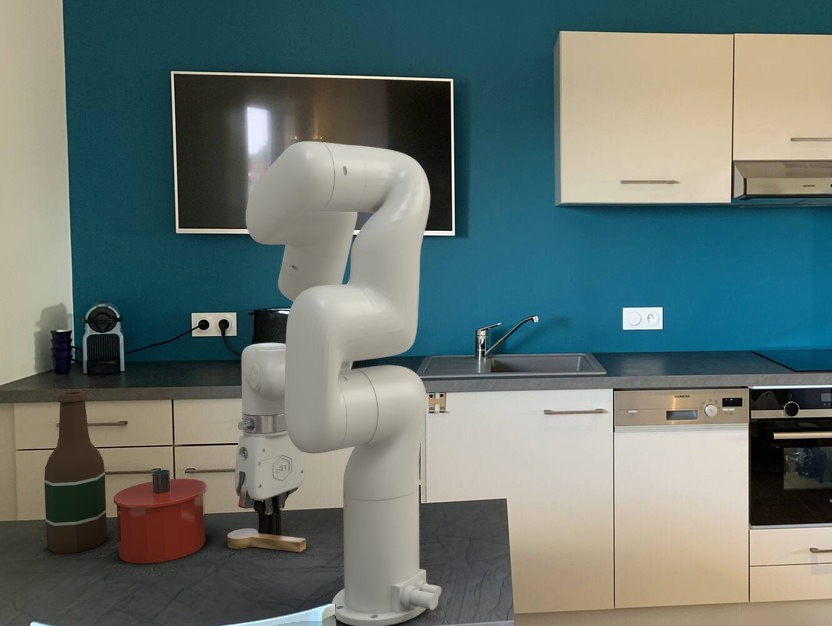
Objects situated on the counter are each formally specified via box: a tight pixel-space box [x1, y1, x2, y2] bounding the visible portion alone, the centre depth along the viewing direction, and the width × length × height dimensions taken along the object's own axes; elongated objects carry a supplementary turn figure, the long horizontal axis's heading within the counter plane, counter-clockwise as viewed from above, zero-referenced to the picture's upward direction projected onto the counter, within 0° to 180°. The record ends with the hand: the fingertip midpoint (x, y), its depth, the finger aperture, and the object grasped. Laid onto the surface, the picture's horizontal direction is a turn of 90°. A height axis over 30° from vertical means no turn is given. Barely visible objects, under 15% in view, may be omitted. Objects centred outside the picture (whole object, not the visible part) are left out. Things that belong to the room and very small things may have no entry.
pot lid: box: [113, 469, 209, 508], centre depth 119 cm, size 13×13×4 cm
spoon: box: [226, 527, 307, 553], centre depth 121 cm, size 13×4×2 cm, turn 76°
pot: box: [116, 492, 207, 564], centre depth 120 cm, size 12×12×8 cm
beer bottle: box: [43, 390, 108, 555], centre depth 120 cm, size 8×8×24 cm
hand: (270, 535), depth 123 cm, fingers closed
